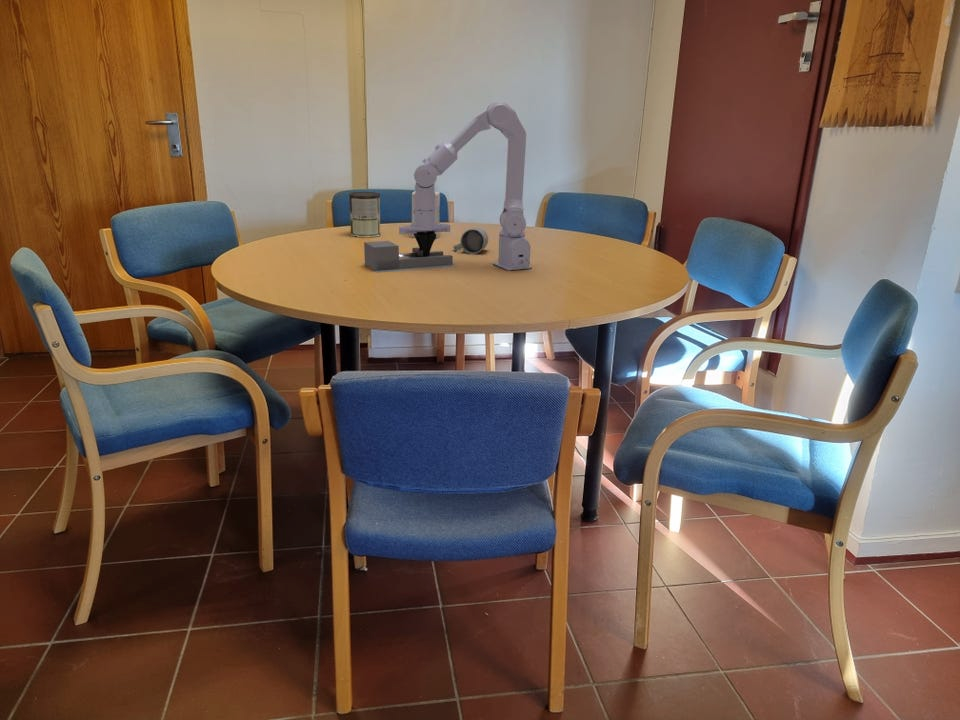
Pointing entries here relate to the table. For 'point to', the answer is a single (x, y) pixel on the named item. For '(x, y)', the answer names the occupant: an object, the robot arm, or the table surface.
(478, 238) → the ceramic mug
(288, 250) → the table surface
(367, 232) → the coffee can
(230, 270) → the table surface
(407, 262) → the grey slotted fixture
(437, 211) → the supplement box
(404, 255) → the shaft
